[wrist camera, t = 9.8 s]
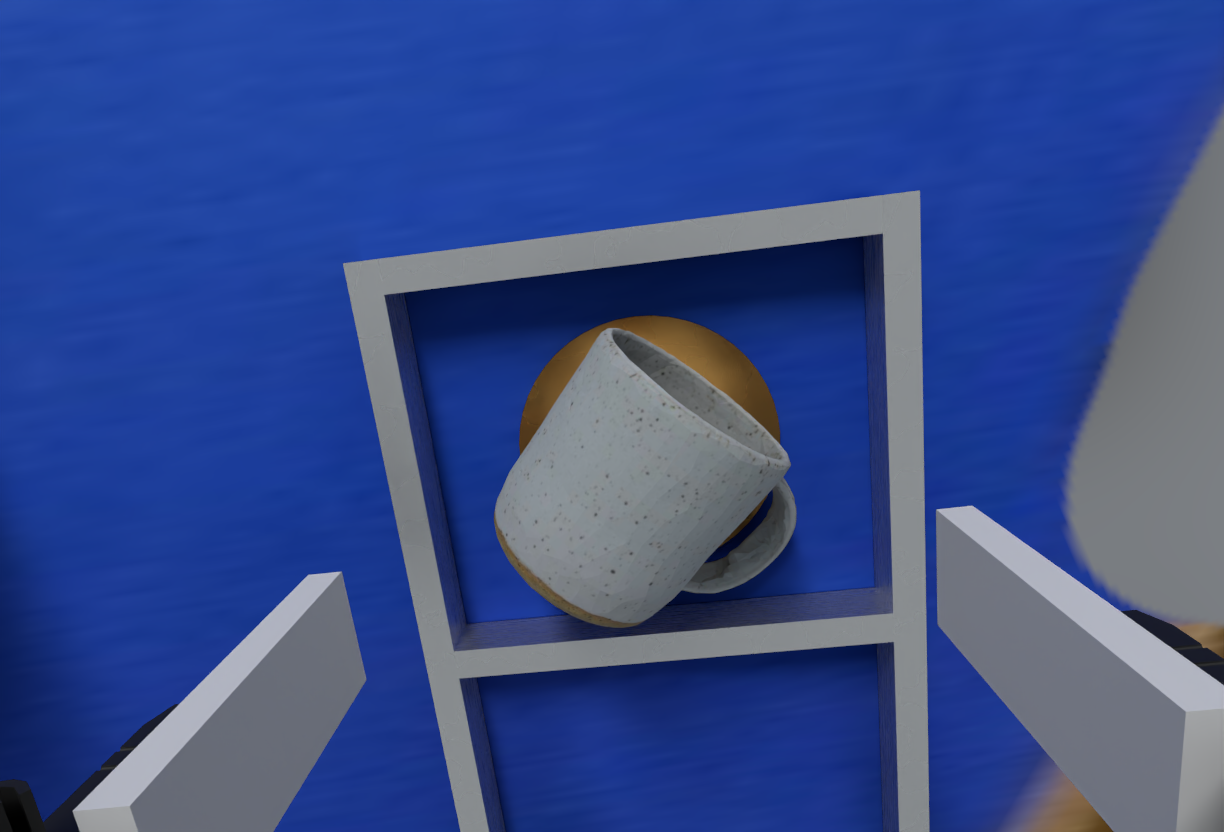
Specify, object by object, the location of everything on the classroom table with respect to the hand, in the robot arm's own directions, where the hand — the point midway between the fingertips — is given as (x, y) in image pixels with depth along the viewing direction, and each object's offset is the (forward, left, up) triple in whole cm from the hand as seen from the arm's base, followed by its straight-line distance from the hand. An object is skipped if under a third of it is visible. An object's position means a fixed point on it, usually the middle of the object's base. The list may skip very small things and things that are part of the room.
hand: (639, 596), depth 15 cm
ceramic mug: (+1, -1, -12) cm, 12 cm away
